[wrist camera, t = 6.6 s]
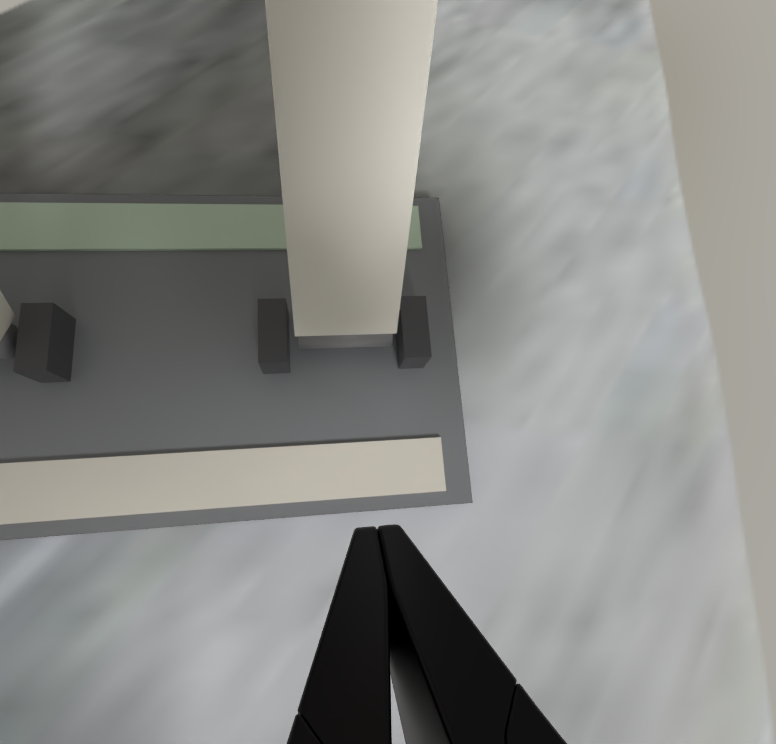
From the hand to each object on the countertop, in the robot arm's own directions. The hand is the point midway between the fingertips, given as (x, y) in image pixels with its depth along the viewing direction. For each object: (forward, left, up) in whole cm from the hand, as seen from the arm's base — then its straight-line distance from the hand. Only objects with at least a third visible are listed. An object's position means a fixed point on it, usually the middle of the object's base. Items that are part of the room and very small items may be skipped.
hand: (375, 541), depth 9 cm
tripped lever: (+7, 0, -8) cm, 10 cm away
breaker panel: (+7, +6, -10) cm, 13 cm away
